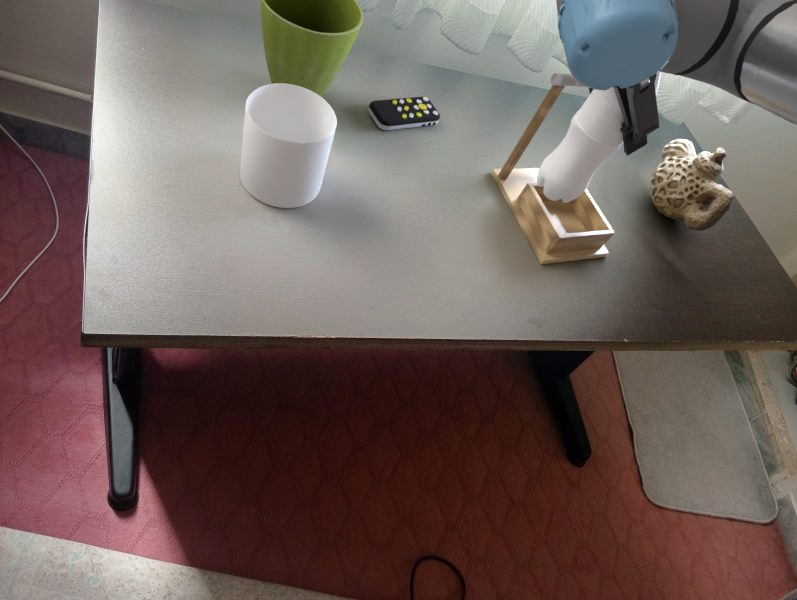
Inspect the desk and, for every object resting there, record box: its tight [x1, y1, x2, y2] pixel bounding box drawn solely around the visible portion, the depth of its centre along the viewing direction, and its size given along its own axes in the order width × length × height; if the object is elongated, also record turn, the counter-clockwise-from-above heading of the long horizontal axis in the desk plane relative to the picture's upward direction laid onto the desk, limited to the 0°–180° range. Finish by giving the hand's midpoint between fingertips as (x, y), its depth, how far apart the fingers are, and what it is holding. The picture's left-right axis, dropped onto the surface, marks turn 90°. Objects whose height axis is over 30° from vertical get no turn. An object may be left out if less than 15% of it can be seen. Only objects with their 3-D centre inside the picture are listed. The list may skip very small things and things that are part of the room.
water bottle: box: [537, 71, 663, 203], centre depth 69 cm, size 7×7×25 cm
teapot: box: [648, 138, 735, 232], centre depth 98 cm, size 21×12×15 cm, turn 1°
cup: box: [239, 83, 338, 209], centre depth 74 cm, size 12×12×12 cm
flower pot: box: [259, 0, 364, 98], centre depth 84 cm, size 15×15×16 cm
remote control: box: [367, 96, 441, 131], centre depth 95 cm, size 6×13×2 cm, turn 118°
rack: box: [490, 72, 616, 265], centre depth 84 cm, size 20×15×21 cm
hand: (619, 126), depth 71 cm, fingers closed on water bottle, 7 cm apart
